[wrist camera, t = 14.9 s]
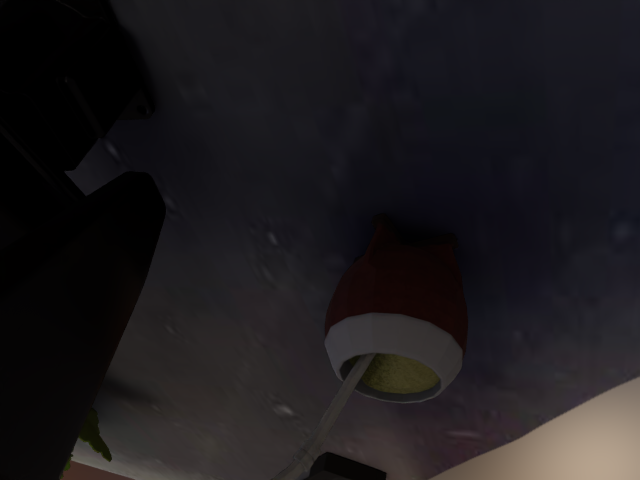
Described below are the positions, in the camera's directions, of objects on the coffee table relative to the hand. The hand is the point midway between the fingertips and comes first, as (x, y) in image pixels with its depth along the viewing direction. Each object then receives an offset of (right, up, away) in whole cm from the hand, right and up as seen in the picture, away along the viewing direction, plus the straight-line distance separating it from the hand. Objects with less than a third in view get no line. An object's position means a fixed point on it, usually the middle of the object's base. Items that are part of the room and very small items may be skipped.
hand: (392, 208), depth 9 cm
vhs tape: (0, -29, +54) cm, 62 cm away
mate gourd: (+3, -1, +21) cm, 21 cm away
